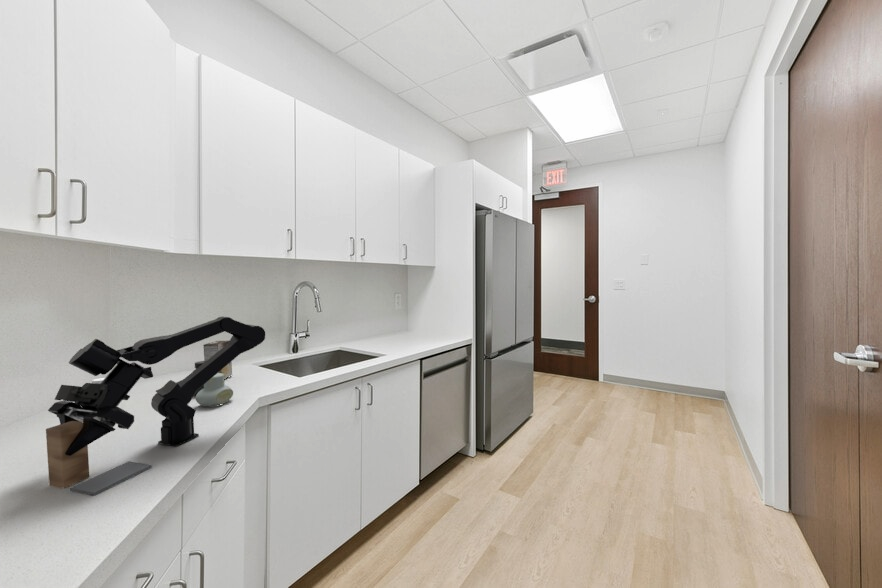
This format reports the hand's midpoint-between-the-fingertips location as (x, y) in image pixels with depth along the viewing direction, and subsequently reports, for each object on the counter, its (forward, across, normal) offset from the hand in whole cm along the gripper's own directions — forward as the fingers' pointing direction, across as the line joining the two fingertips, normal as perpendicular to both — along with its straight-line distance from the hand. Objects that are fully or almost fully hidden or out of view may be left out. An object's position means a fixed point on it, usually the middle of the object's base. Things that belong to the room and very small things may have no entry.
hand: (59, 453), depth 76 cm
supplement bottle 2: (-34, -25, +44) cm, 61 cm away
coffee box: (-46, -36, +56) cm, 81 cm away
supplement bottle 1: (-20, -46, +30) cm, 58 cm away
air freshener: (-29, -11, +38) cm, 49 cm away
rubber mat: (+2, +8, +8) cm, 11 cm away
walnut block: (+4, 0, +6) cm, 7 cm away
